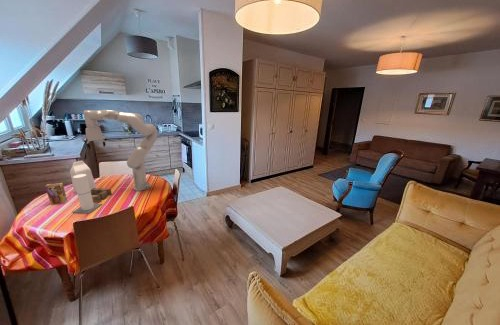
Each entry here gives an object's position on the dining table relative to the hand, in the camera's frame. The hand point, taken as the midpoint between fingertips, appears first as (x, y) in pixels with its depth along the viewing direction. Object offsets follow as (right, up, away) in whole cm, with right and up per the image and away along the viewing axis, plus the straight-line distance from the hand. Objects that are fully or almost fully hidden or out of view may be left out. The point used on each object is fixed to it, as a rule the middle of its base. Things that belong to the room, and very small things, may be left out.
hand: (97, 147), depth 162 cm
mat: (+7, -46, -18) cm, 50 cm away
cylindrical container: (+7, -46, -18) cm, 50 cm away
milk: (-18, -37, +10) cm, 42 cm away
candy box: (-21, -43, -10) cm, 49 cm away
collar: (+1, -41, -2) cm, 41 cm away
